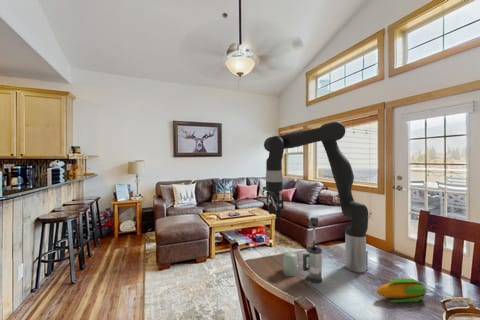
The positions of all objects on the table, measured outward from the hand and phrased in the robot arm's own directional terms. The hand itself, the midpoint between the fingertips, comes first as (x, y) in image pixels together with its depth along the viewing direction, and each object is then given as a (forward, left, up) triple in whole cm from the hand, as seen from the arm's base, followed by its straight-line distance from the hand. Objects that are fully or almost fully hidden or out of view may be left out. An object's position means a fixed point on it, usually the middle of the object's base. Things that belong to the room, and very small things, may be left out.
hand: (274, 216), depth 100 cm
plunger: (-18, +4, -15) cm, 24 cm away
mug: (-10, -4, -29) cm, 31 cm away
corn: (-43, +25, -30) cm, 58 cm away
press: (-18, +4, -29) cm, 35 cm away
